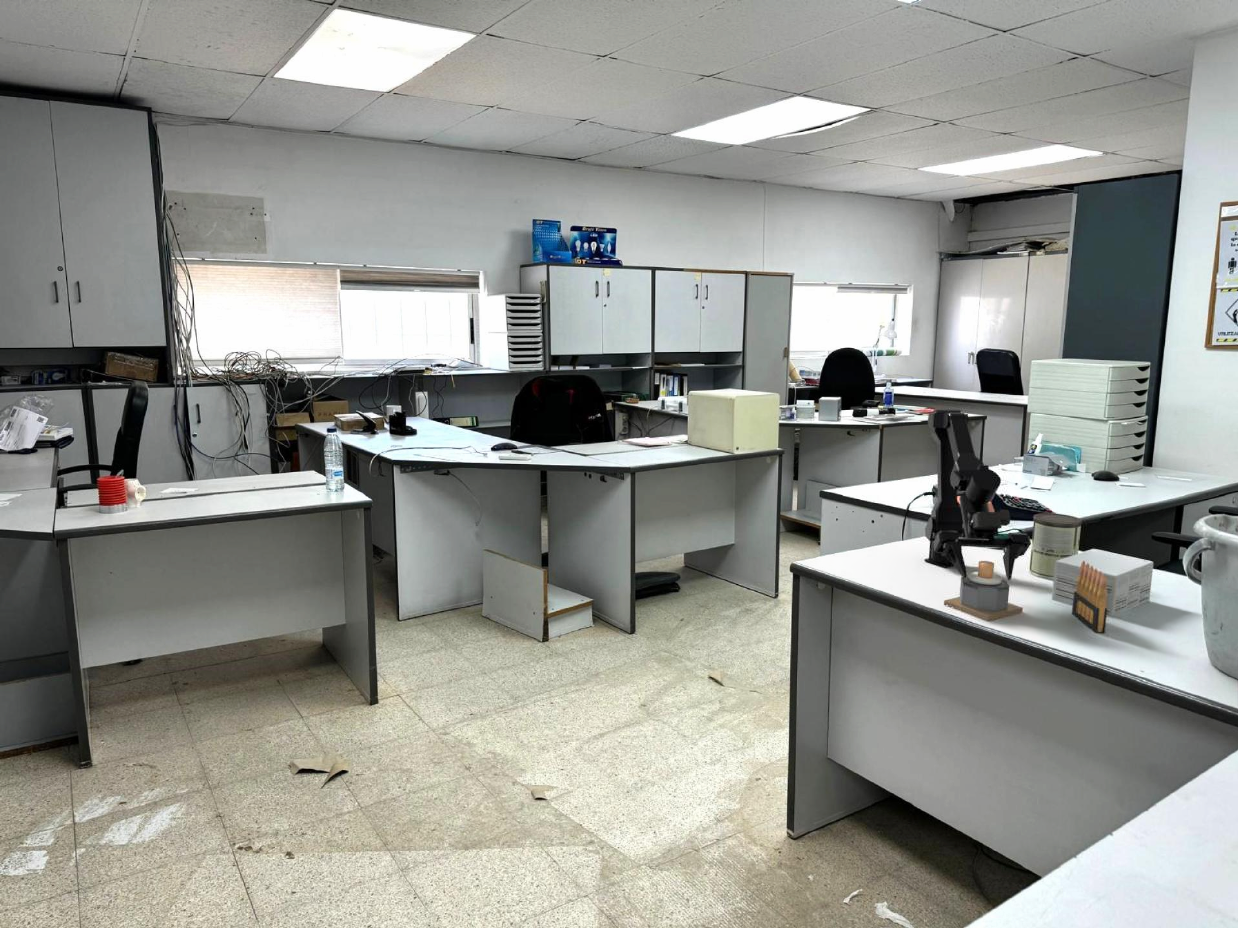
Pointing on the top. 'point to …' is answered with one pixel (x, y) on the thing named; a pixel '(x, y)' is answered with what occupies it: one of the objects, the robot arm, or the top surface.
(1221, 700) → the top surface
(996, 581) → the pump plunger
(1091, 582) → the ammunition clip
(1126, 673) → the top surface
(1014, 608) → the pump canister
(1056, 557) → the coffee can
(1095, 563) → the supplement box
